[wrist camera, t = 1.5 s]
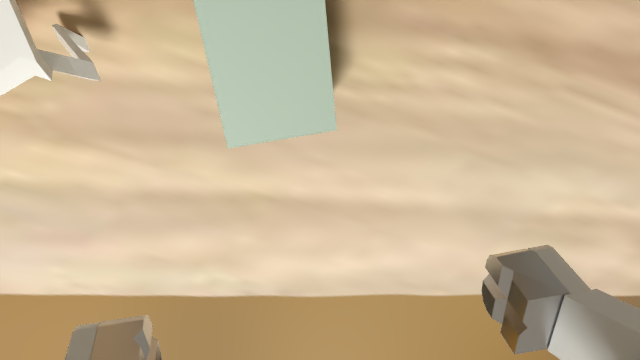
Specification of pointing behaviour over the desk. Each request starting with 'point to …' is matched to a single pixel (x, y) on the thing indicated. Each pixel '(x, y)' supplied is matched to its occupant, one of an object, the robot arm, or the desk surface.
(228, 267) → the desk surface
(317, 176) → the desk surface
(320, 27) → the card box
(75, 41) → the origami figure
